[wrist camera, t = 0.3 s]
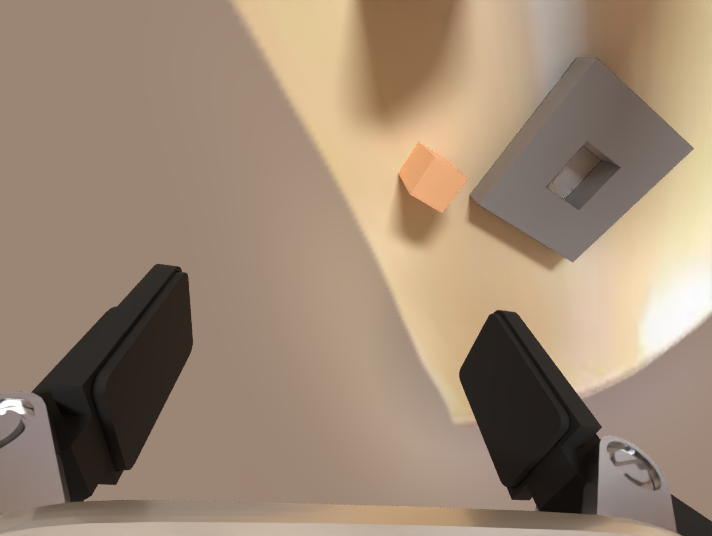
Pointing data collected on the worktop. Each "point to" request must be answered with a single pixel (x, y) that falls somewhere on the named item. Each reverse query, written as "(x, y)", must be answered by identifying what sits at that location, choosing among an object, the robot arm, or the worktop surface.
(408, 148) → the worktop surface
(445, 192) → the orange rectangular block
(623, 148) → the grey square hole board
